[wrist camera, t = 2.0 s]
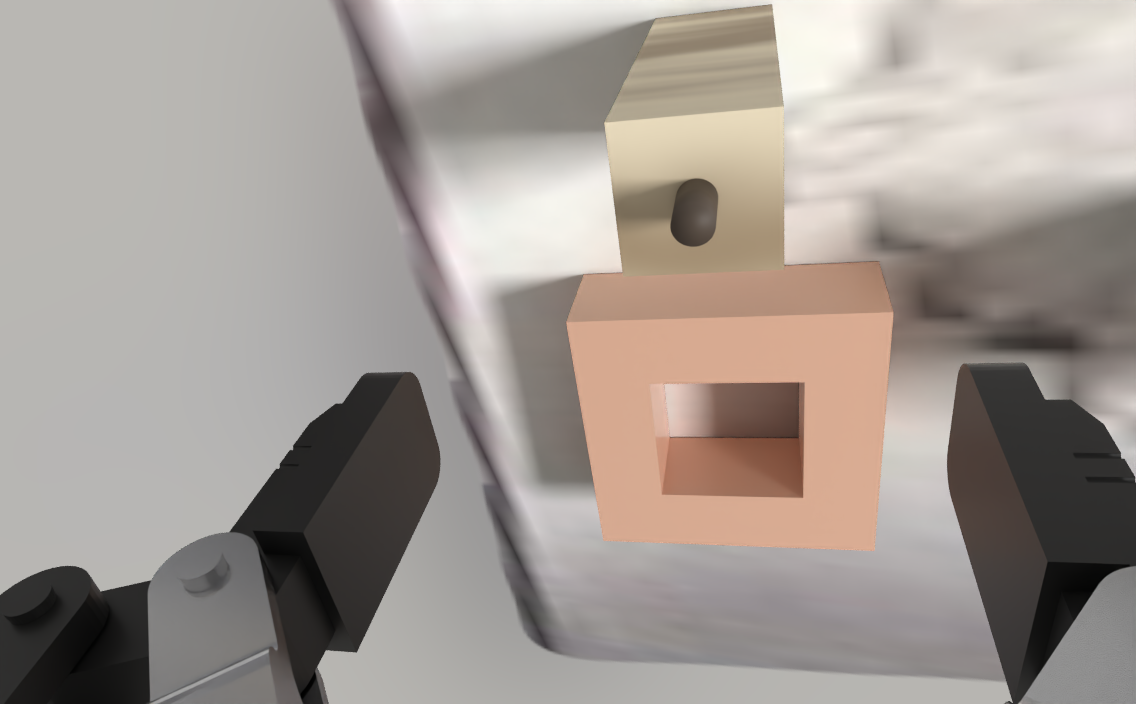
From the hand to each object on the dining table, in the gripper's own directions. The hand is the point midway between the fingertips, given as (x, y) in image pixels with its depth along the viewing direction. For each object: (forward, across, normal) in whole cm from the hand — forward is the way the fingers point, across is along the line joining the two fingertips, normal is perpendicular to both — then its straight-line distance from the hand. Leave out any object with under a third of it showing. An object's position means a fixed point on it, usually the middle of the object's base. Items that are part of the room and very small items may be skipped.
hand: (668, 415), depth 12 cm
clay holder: (+20, 0, +14) cm, 25 cm away
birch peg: (+20, 0, 0) cm, 20 cm away
